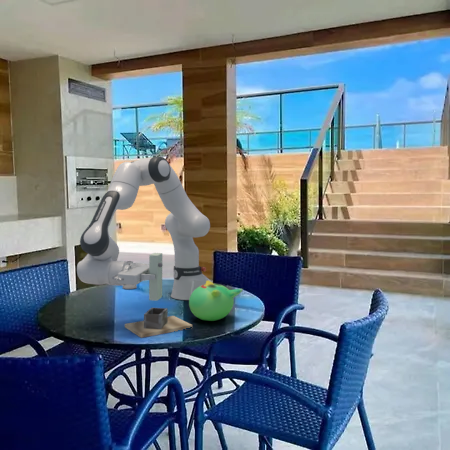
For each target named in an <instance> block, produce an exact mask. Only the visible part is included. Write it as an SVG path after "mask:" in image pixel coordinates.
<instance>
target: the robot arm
mask: <svg viewBox="0 0 450 450" xmlns="http://www.w3.org/2000/svg"><path fill="white" fill-rule="evenodd" d="M149 185H154V187H155V189H156V192H157V194H158V196H159V199H160V200H161V202H162V204H163V206H164V208H165V209H166V210H167V211H168V212H169V214H167V215H166V217H165V221H164V226H165V229H166V230H167V232H168V233H169V234H170V237H171V241H172V245H173V251H174V265H173V285H172V290H171V295H170V297H171V298H172V299H175V300H182V301H189V299H190V296H191V294H192V293H193V291H194V290H195V289H196V288H198V287H199V286H201V285H204V284H206V281H211V282H212V283H214V282H213V281H212V280H211V279H209V278H208V277H207V276H206V275H204V274H203V272H206V271H207V267H204V266H200V265H199V264H200V259H199V258H200V250H199V247H198V246H197V244H195V241H194V238H201V237H205V236H206V235H207V234H208V233H209V231H210V228H211V222H210V219H209V218H208V217H207V216H206V215H204V214H203V213H202V212H201V211H200V210H199V209H198V207H196V205H195V204H194V203H193V202H192V200H191V199H190V197H188V195H187V192H186V190H185V188H184V186H183V184H182V182H181V180H180V178H179V176H178V175H177V173H176V171H175V170H174V169H173V167H172V166H171V165H170V163H169V161H168V160H167V159H166V158H165V157H163V156H159V155H157V156H151V157H149V156H148V157H142V158H141V159H138V160H134V161H124V162H122V163H120V164H119V165H118V167H117V169H116V170H115V172H114V174H113V176H112V178H111V181H110V184H109V186H108V189H107V191H106V192H105V194H104V195H103V196H102V198H101V200H100V202H99V204H98V206H97V209H96V211H95V212H94V215H93V218H92V219H91V221H90V223H89V224H88V226H87V227H86V228H85V230H84V231H83V232H82V234H81V236H80V238H79V239H80V240H79V244H80V248H81V249H82V251H83V252H85V253H86V255H85V256H84V257H83V259H82V260H80V261H79V262H78V263H77V266H76V274H77V277H78V279H79V280H80V281H81V282H83V283H85V284H89V285H98V286H99V285H100V286H102V285H109V286H118V287H119V286H121V287H123V286H125V285H127V284H128V285H138V284H140V283H142V282H143V281H149V280H155V279H156V275H155V274H149V263H141V262H134V261H133V260H129V261H128V260H127V261H126V260H125V261H123V260H118V258H119V254H120V248H119V245H118V244H117V242H116V241H115V240H114V239H113V238H112V237H111V236H110V234H109V226H110V225H111V222H112V220H113V218H114V215H115V213H116V211H117V210H118V211H119V210H120V211H123V210H128V209H129V208H131V207H132V206H133V205H134V204H135V202H136V199H137V196H138V194H139V193H138V192H139V190H140V189H139V188H140V186H141V187H143V186H144V187H145V186H149Z"/></svg>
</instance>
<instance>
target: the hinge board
mask: <svg viewBox="0 0 450 450" xmlns="http://www.w3.org/2000/svg"><path fill="white" fill-rule="evenodd" d="M168 312H169V311H168V307H166V308H165V307H150V308H149V309H148V310H147V311H146V312H144V313H143V320H140V321H135V322H133V321H132V322H129V323H124V328H125V329H127V330H128V331H130V332H132V333H133V334H135V335H136V336H138V337H139V338H142V339H143V338H149V337H153V336H158V335H163V334H164V335H165V334H168V333H174V331H175V332H179V331H178V330H180V331H184V330H183V329H185V330H187V329H186V328H190V327H192V328H193V324H191V323H190V322H187V321H185V320H183V319H181V318H179V317H177V316H175V315H170V316H169V314H168Z"/></svg>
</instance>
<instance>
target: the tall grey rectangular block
mask: <svg viewBox="0 0 450 450" xmlns="http://www.w3.org/2000/svg"><path fill="white" fill-rule="evenodd" d="M148 257H149V258H148V259H149V263H148V264H149V274H155V275H156V279H155V280H148V283H149V284H148V287H149V288H148V290H149V292H148V293H149V294H148V297H149V298H148V300H149V301H156V302H157V301H159V300H160V299H162V297H163V266H164V265H163V252H153V253H151V254H149V256H148Z"/></svg>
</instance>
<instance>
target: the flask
mask: <svg viewBox="0 0 450 450" xmlns="http://www.w3.org/2000/svg"><path fill="white" fill-rule="evenodd" d="M137 288H138V284H136V285H128V284H127V285H125V286H122V289H123V290H133V289H137Z"/></svg>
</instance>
